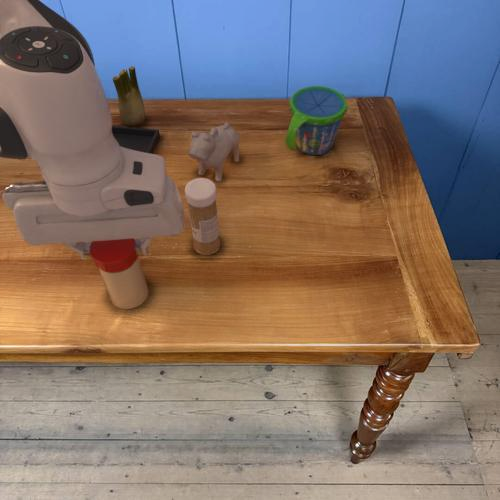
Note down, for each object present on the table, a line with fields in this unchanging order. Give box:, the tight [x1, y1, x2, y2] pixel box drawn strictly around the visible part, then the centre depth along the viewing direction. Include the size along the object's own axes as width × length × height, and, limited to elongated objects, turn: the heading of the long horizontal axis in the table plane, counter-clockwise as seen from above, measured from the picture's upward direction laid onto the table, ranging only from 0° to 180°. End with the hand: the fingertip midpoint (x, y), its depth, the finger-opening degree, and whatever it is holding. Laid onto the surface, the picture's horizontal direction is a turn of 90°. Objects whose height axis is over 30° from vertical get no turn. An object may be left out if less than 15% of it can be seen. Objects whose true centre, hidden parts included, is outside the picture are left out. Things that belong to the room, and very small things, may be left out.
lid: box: [90, 238, 138, 272], centre depth 63 cm, size 6×6×2 cm
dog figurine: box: [187, 122, 240, 182], centre depth 84 cm, size 5×13×11 cm, turn 151°
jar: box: [97, 256, 149, 310], centre depth 67 cm, size 6×6×11 cm
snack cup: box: [284, 85, 349, 156], centre depth 89 cm, size 16×10×10 cm
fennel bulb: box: [112, 65, 147, 128], centre depth 93 cm, size 6×5×12 cm
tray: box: [112, 125, 162, 154], centre depth 92 cm, size 17×10×2 cm, turn 82°
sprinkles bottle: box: [184, 177, 221, 256], centre depth 71 cm, size 5×5×14 cm
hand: (116, 253), depth 63 cm, fingers closed on lid, 6 cm apart
